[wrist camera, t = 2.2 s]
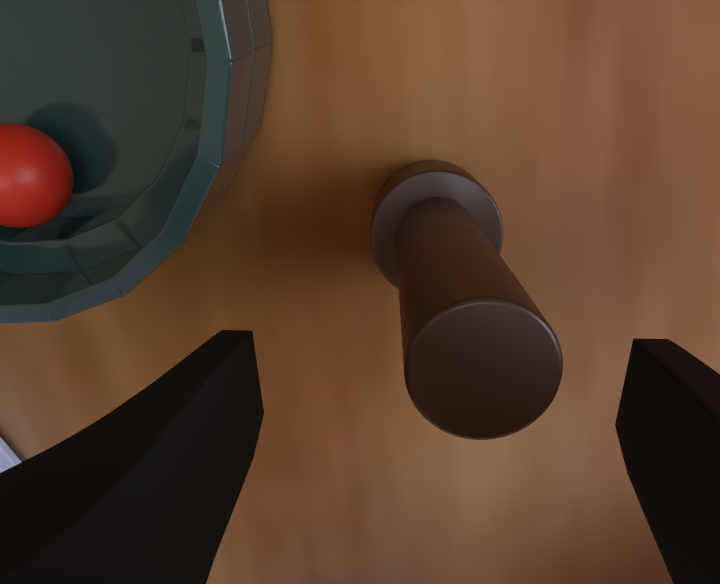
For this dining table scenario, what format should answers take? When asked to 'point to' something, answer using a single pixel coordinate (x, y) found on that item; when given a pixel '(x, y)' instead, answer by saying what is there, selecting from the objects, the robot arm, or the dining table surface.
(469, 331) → the muddler
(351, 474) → the dining table surface
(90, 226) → the bowl
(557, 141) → the dining table surface
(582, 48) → the dining table surface
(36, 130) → the tomato
